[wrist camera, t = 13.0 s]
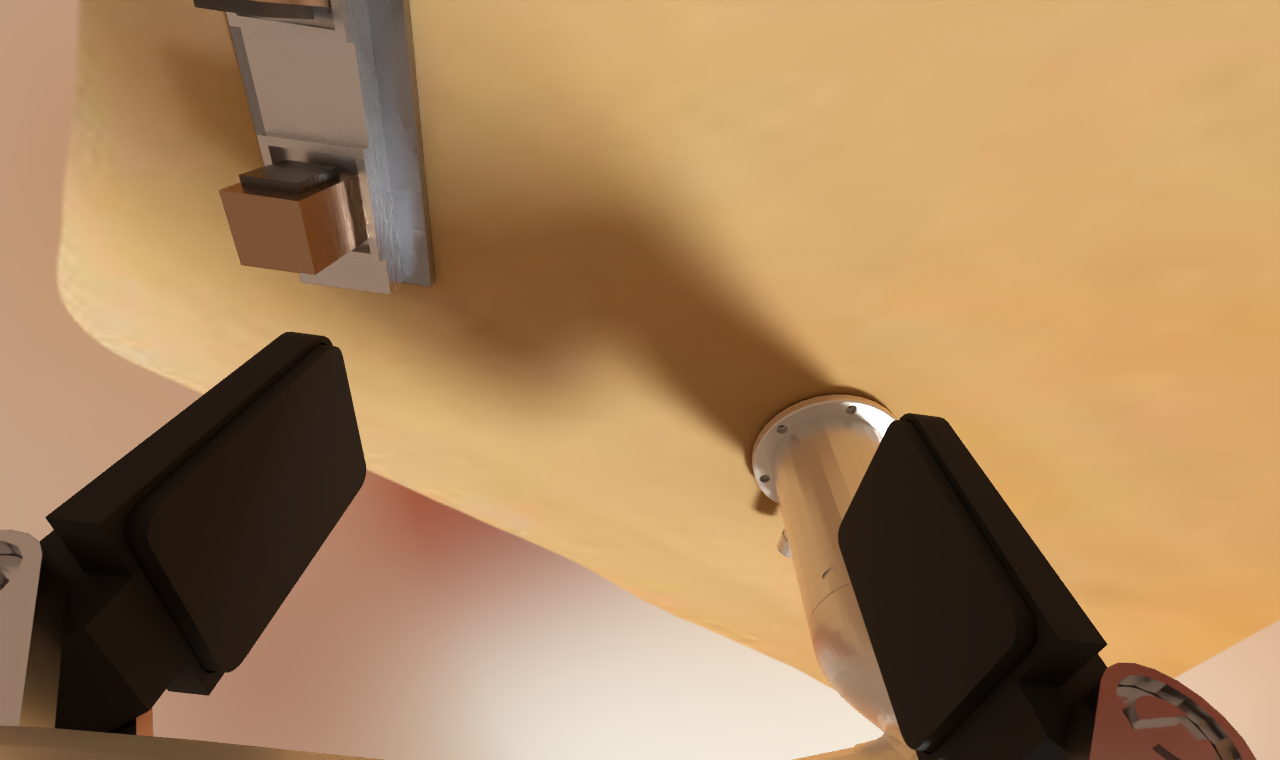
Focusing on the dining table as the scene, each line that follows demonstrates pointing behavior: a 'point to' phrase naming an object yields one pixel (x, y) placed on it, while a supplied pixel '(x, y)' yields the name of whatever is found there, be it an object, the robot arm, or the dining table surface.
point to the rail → (333, 148)
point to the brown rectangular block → (266, 7)
